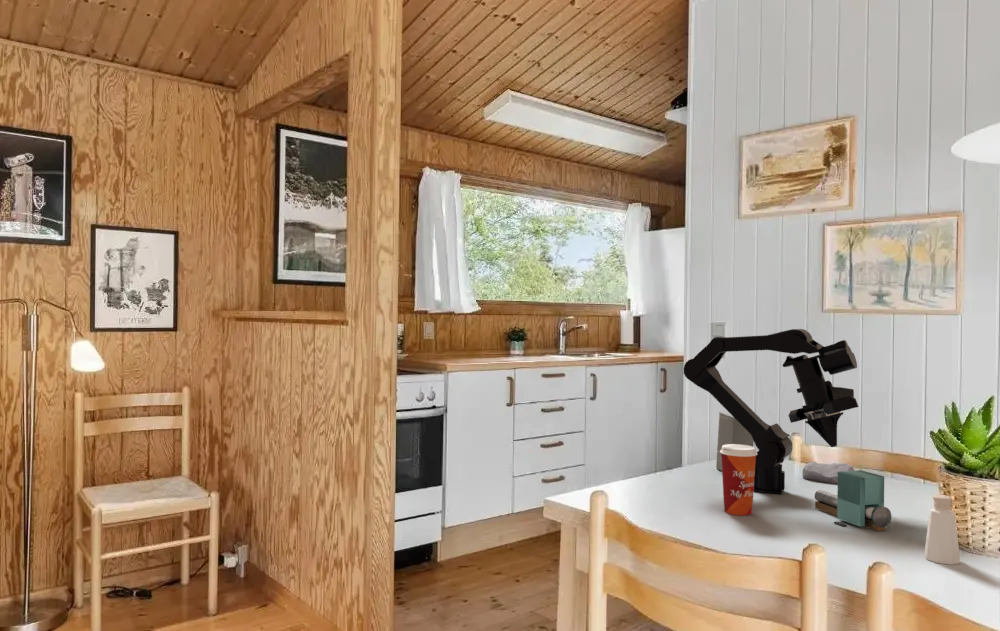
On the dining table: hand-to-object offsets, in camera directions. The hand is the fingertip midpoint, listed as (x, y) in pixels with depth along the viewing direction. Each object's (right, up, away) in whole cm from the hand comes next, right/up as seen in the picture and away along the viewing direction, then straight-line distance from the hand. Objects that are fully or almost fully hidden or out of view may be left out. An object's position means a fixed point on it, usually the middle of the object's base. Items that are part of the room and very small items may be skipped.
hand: (834, 446), depth 164 cm
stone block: (+9, -13, +22) cm, 27 cm away
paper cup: (-25, -12, -10) cm, 30 cm away
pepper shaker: (0, -13, -39) cm, 41 cm away
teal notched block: (-3, -12, -18) cm, 22 cm away
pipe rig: (-4, -12, -15) cm, 19 cm away
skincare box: (-13, -13, +29) cm, 34 cm away
